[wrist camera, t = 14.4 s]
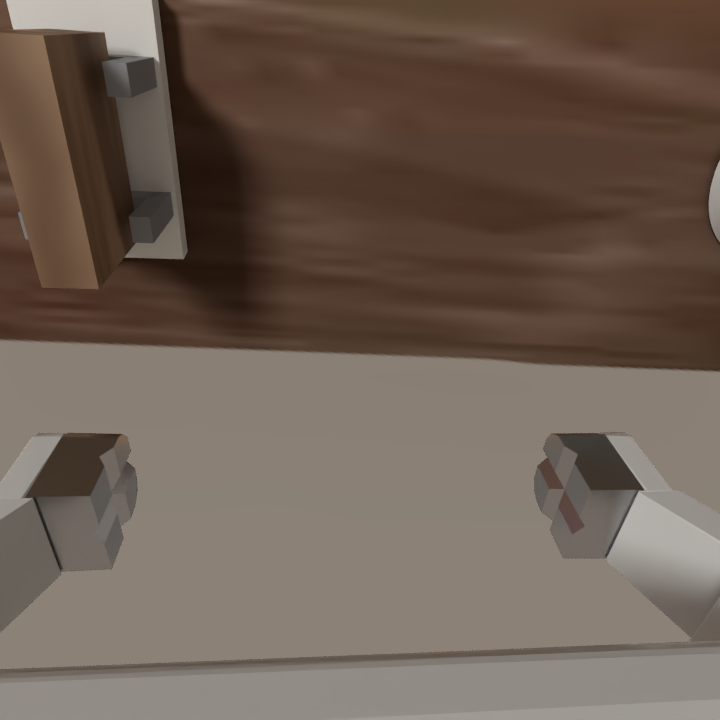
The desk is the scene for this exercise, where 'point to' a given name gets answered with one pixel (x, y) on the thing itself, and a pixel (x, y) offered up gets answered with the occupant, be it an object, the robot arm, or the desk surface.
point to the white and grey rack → (130, 108)
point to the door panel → (65, 154)
